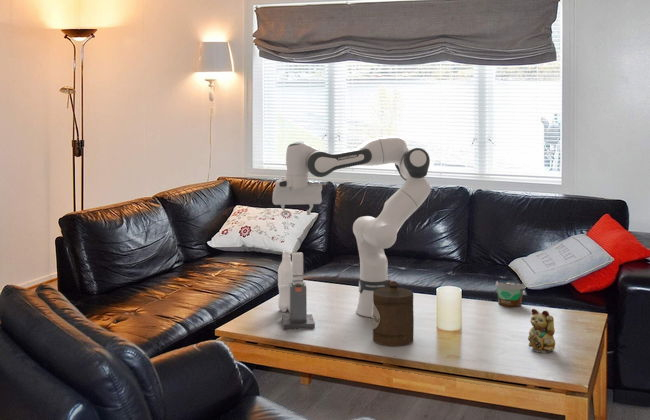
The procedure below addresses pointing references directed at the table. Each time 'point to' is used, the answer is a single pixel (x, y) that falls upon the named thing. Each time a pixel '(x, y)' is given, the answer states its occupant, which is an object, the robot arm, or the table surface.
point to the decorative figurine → (542, 332)
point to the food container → (510, 294)
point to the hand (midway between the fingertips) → (297, 215)
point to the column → (297, 268)
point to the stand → (297, 310)
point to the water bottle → (284, 281)
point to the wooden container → (393, 315)
